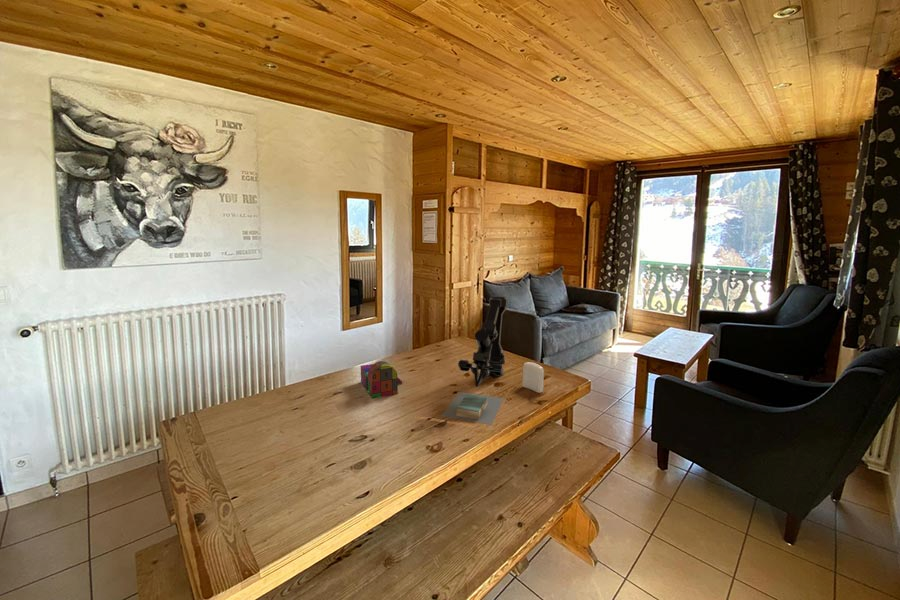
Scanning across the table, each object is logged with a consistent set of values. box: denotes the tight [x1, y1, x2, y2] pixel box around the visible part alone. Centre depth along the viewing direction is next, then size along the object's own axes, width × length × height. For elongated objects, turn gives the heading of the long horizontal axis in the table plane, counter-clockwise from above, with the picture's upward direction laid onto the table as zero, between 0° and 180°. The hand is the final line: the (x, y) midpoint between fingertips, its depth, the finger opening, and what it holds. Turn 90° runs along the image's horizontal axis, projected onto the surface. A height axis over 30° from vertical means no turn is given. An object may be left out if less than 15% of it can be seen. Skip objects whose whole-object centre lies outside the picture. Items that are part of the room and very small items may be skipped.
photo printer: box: [522, 361, 545, 394], centre depth 185 cm, size 10×4×12 cm, turn 39°
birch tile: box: [456, 393, 487, 419], centre depth 163 cm, size 3×9×14 cm
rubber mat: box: [441, 391, 504, 426], centre depth 166 cm, size 24×20×1 cm
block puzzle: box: [360, 360, 403, 399], centre depth 188 cm, size 25×17×14 cm
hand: (476, 386), depth 168 cm, fingers closed
